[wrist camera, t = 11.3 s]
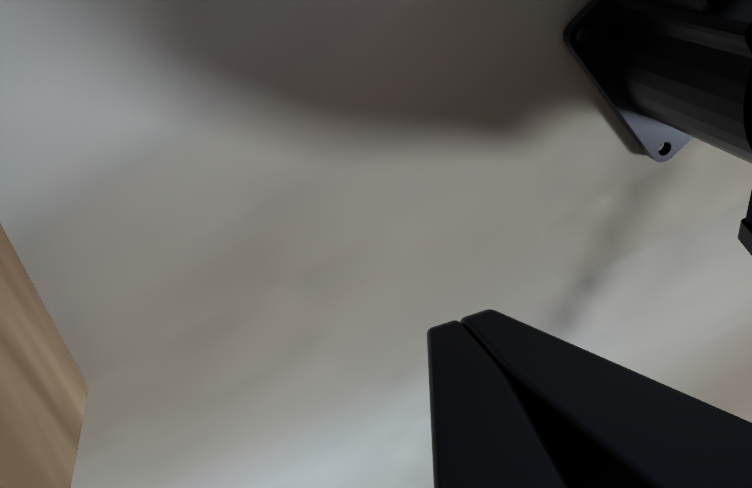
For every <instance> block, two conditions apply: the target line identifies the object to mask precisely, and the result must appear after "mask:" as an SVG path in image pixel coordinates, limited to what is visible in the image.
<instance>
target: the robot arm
mask: <svg viewBox="0 0 752 488" xmlns="http://www.w3.org/2000/svg"><path fill="white" fill-rule="evenodd" d="M583 28H584V30H585V36H584V37H583V39H582V40H581V41H579V42H578V40H577V34H578V33H579V31H580V30H581V29H583ZM563 39H564V43H565V45H566V47H567V48H568V49H569V51H570V52H571V53H572V55H573V56H574V58H575V59H576V60H577V62H578V63H579V64H580V66H581V67H582V68H583V70H584V71H585V72H586V74H587V75H588V76H589V78H590V79H591V80H592V82H593V83H594V84H595V86H596V87H597V89H598V90H599V91H600V93H601V94H602V95H603V97H604V98H605V99H606V101H607V102H608V103H609V105H610V106H611V107H612V109H613V110H614V111H615V113H616V114H617V116H618V117H619V118H620V120H621V121H622V122H623V124H624V125H625V126H626V128H627V129H628V130H629V132H630V133H631V134H632V136H633V137H634V138H635V140H636V141H637V142H638V144H639V145H640V147H641V148H642V149H643V151H644V152H645V153H646V155H647V156H649V157H650V158H651V159H653V160H655V161H657V162H665V161H667V160H669V159H670V158H672V157H673V156H674V155H675V154H676V153H677V152H678V151H679V150H680V149H681V148H682V147H683V146H684V145H685V144H686V143H688V142H689V141H690V140H691V139H692V138H693V137H695V138H697V139H699V140H701V141H703V142H706V143H708V144H710V145H712V146H714V147H717V148H719V149H721V150H723V151H725V152H728V153H730V154H732V155H734V156H736V157H739V158H741V159H743V160H745V161H747V162H750V163H752V0H591V1H590V2H589V3H588V4H587V5H586V6H585V7H584V8H583V9H582V10H581V11H580V12H579V13H578V14H577V15H576V16H575V17H574V18H573V19H572V20H571V21H570V22H569V24H568V25H567V26H566V28H565V31H564V34H563ZM662 143H664V146H663V148H662V149H661V150H660V151H658V150H659V147H660V145H661V144H662ZM738 239H739V240H740V242H741V243H742V244H743V245H744V247H745V248H746V249H747V250H748V252H749V253H750V254H751V255H752V191H751V196H750V201H749V205H748V210H747V215H746V218H744V219H742V220H741V223H740V228H739V233H738ZM427 345H428V367H429V389H430V411H431V433H432V455H433V477H434V488H752V423H751V422H749V421H746V420H744V419H742V418H739V417H737V416H735V415H733V414H730V413H728V412H726V411H723V410H721V409H719V408H717V407H714V406H712V405H710V404H707V403H705V402H703V401H701V400H698V399H696V398H694V397H691V396H689V395H687V394H685V393H682V392H680V391H678V390H675V389H673V388H671V387H669V386H666V385H664V384H662V383H659V382H657V381H655V380H653V379H650V378H648V377H646V376H644V375H641V374H639V373H637V372H634V371H632V370H630V369H628V368H625V367H623V366H621V365H618V364H616V363H614V362H612V361H609V360H607V359H605V358H602V357H600V356H598V355H596V354H593V353H591V352H589V351H586V350H584V349H582V348H580V347H577V346H575V345H573V344H570V343H568V342H566V341H564V340H561V339H559V338H557V337H554V336H552V335H550V334H548V333H545V332H543V331H541V330H539V329H536V328H534V327H532V326H529V325H527V324H525V323H523V322H520V321H518V320H516V319H513V318H511V317H509V316H507V315H504V314H502V313H500V312H497V311H495V310H490V309H489V310H484V311H481V312H478V313H475V314H472V315H469V316H466V317H464V318H462V320H461V321H460V322H459V321H450V322H447V323H444V324H441V325H438V326H435V327H432V328H430V329H429V330H428V332H427Z"/></svg>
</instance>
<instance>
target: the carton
mask: <svg viewBox="0 0 752 488" xmlns="http://www.w3.org/2000/svg"><path fill="white" fill-rule="evenodd" d="M87 394H88V387H87V385H86V383H85V381H84V379H83V377H82V376H81V374H80V372H79V370H78V368H77V366H76V364H75V362H74V361H73V359H72V357H71V355H70V353H69V351H68V349H67V347H66V346H65V344H64V342H63V340H62V338H61V336H60V334H59V332H58V331H57V329H56V327H55V325H54V323H53V321H52V319H51V318H50V316H49V314H48V312H47V310H46V308H45V306H44V304H43V303H42V301H41V299H40V297H39V295H38V293H37V291H36V289H35V288H34V286H33V284H32V282H31V280H30V278H29V276H28V274H27V273H26V271H25V269H24V267H23V265H22V263H21V261H20V260H19V258H18V256H17V254H16V252H15V250H14V248H13V246H12V245H11V243H10V241H9V239H8V237H7V235H6V233H5V231H4V230H3V228H2V226H1V224H0V488H70V487H71V482H72V476H73V471H74V465H75V460H76V454H77V449H78V443H79V438H80V432H81V427H82V421H83V416H84V410H85V405H86V400H87Z"/></svg>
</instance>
